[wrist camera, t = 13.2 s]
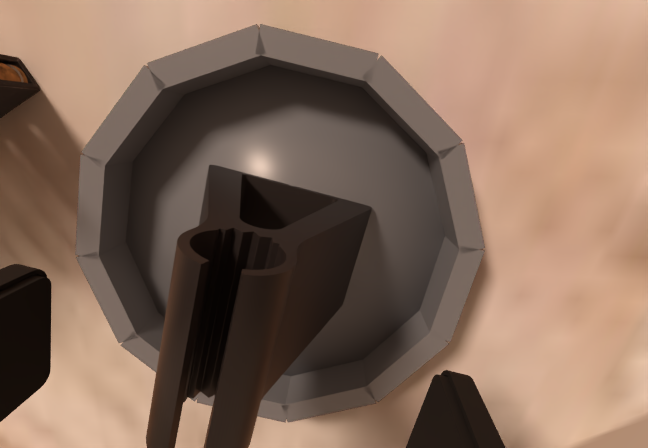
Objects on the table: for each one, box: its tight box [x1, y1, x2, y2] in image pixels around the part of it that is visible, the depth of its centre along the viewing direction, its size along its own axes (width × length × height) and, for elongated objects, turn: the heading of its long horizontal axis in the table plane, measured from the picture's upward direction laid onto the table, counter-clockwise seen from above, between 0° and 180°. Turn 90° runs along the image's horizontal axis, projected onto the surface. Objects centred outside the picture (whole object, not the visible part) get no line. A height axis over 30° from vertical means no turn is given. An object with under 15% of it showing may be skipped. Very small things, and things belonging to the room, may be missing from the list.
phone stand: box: [146, 165, 372, 448], centre depth 14 cm, size 9×6×12 cm, turn 75°
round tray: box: [75, 24, 485, 422], centre depth 19 cm, size 20×20×3 cm
